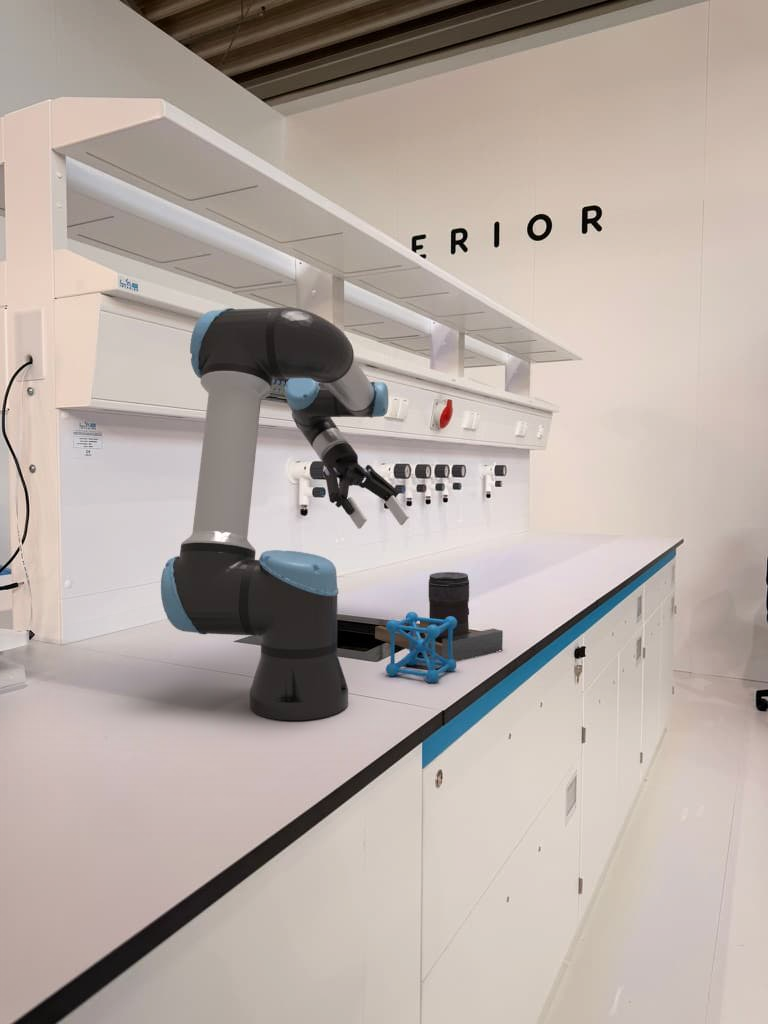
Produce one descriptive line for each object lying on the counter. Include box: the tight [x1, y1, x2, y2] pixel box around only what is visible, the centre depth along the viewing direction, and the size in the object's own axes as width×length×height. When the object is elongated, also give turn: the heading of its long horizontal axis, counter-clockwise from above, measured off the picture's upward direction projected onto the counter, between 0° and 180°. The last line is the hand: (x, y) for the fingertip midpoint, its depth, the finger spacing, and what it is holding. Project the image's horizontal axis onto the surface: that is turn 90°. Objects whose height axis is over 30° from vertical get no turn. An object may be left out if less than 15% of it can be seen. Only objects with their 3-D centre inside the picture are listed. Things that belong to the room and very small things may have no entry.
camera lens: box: [428, 571, 470, 643], centre depth 147 cm, size 8×8×15 cm
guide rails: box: [374, 621, 477, 657], centre depth 152 cm, size 14×21×2 cm
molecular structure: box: [385, 611, 457, 684], centre depth 130 cm, size 10×10×10 cm
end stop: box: [442, 628, 504, 662], centre depth 143 cm, size 14×2×4 cm, turn 129°
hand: (384, 522), depth 158 cm, fingers open, 13 cm apart
